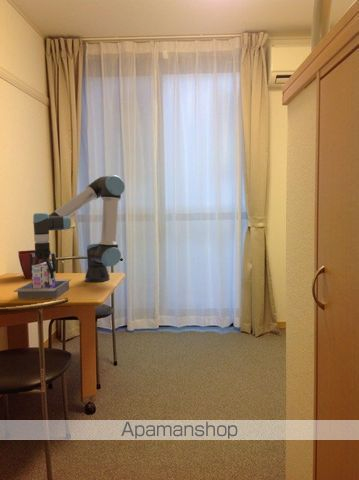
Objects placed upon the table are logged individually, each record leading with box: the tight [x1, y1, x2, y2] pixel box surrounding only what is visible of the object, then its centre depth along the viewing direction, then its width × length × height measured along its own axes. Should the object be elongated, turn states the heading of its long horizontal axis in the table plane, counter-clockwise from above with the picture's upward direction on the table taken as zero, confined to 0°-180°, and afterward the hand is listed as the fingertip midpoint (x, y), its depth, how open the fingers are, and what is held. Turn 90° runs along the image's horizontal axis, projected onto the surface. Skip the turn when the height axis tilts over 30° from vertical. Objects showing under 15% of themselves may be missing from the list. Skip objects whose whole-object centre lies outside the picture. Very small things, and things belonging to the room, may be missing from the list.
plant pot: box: [17, 249, 51, 279], centre depth 250 cm, size 19×19×17 cm
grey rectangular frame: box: [13, 278, 72, 299], centre depth 202 cm, size 20×27×5 cm
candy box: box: [31, 261, 56, 288], centre depth 201 cm, size 14×6×16 cm, turn 169°
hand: (44, 284), depth 202 cm, fingers closed on candy box, 6 cm apart
